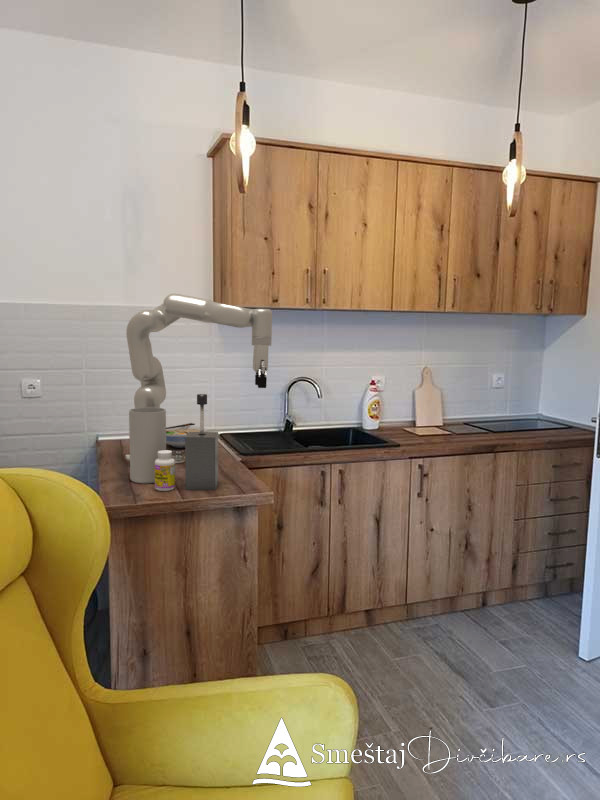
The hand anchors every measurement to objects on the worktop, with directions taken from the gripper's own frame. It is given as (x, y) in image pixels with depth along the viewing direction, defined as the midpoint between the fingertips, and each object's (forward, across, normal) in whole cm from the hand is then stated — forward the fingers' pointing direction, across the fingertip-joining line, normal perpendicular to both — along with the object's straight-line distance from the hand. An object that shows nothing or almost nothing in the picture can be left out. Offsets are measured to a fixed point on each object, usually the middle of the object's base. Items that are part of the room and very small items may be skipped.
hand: (260, 386), depth 230 cm
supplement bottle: (+32, +26, -34) cm, 54 cm away
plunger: (+22, +24, -22) cm, 39 cm away
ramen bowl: (+32, -43, -30) cm, 62 cm away
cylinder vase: (+32, +14, -41) cm, 54 cm away
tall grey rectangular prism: (+32, +23, -22) cm, 45 cm away
